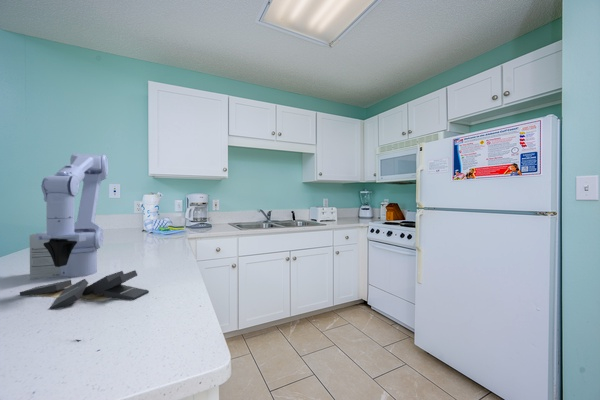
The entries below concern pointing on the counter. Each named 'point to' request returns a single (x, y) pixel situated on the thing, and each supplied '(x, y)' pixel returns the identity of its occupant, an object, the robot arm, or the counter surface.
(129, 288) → the domino
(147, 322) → the counter surface
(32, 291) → the domino
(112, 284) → the domino
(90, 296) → the board
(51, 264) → the supplement box
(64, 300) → the domino
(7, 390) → the counter surface
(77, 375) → the counter surface
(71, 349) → the counter surface
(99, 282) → the domino
